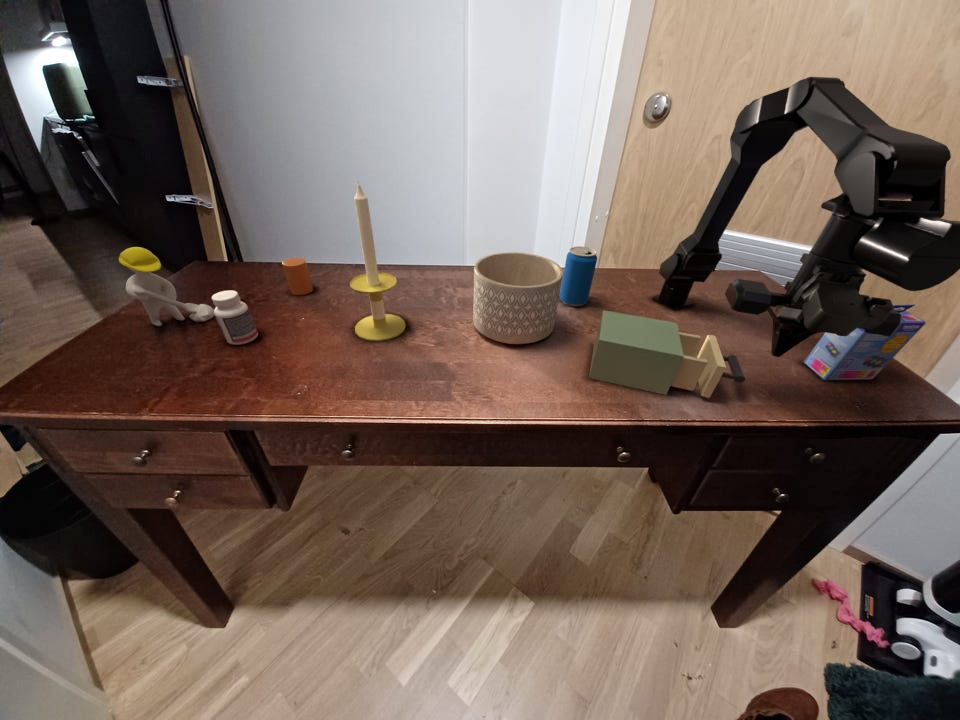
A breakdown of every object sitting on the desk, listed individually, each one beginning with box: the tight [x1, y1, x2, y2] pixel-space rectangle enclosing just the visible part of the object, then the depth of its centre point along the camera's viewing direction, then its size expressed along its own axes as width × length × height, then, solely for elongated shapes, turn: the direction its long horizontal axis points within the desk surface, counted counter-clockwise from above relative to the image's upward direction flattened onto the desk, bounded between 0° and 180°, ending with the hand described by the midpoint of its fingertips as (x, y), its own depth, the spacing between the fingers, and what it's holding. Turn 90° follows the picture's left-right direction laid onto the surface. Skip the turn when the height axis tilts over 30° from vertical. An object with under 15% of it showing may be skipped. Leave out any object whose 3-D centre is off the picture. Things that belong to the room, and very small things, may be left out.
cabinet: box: [588, 309, 684, 396], centre depth 62 cm, size 12×10×8 cm
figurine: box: [118, 246, 215, 327], centre depth 69 cm, size 10×9×15 cm
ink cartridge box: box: [803, 304, 927, 381], centre depth 62 cm, size 10×6×14 cm, turn 95°
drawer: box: [670, 331, 746, 399], centre depth 60 cm, size 15×9×6 cm, turn 71°
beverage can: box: [559, 246, 598, 307], centre depth 82 cm, size 6×6×12 cm
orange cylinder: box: [282, 257, 314, 296], centre depth 83 cm, size 5×5×7 cm
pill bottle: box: [211, 289, 259, 346], centre depth 66 cm, size 5×5×9 cm
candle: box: [349, 181, 407, 342], centre depth 65 cm, size 10×10×27 cm
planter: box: [472, 251, 564, 345], centre depth 71 cm, size 16×16×13 cm
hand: (774, 355), depth 56 cm, fingers closed
